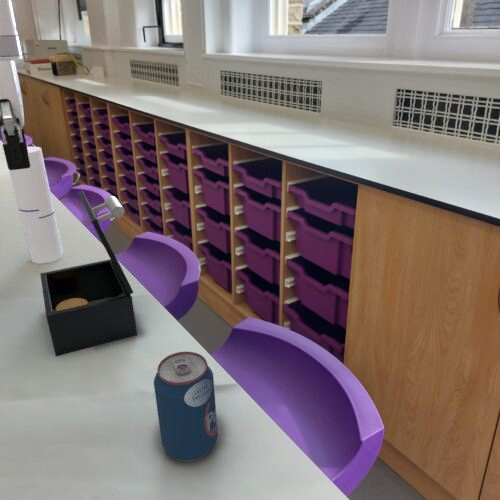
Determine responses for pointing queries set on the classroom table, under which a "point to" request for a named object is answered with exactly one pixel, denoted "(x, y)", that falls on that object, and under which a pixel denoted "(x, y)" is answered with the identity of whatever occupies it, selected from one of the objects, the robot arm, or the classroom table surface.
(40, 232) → the cylindrical container
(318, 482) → the classroom table surface
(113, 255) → the lid
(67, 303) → the cylinder
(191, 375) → the soda can
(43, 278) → the black hinged storage box
